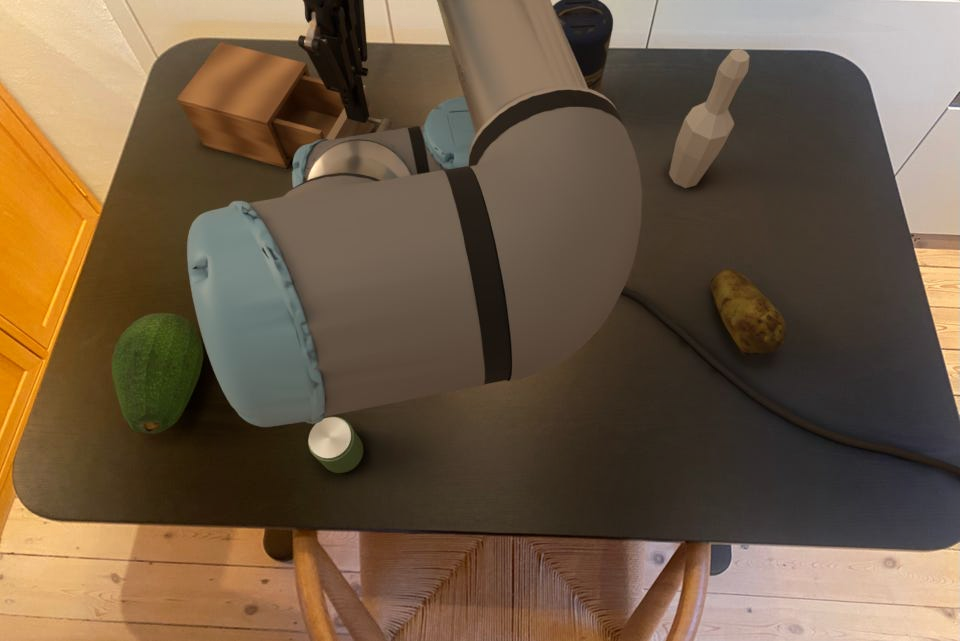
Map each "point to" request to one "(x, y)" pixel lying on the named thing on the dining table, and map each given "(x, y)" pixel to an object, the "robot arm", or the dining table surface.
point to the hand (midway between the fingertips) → (358, 117)
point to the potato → (747, 313)
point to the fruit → (156, 370)
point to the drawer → (317, 117)
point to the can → (335, 444)
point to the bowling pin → (708, 123)
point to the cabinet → (241, 101)
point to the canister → (587, 35)
